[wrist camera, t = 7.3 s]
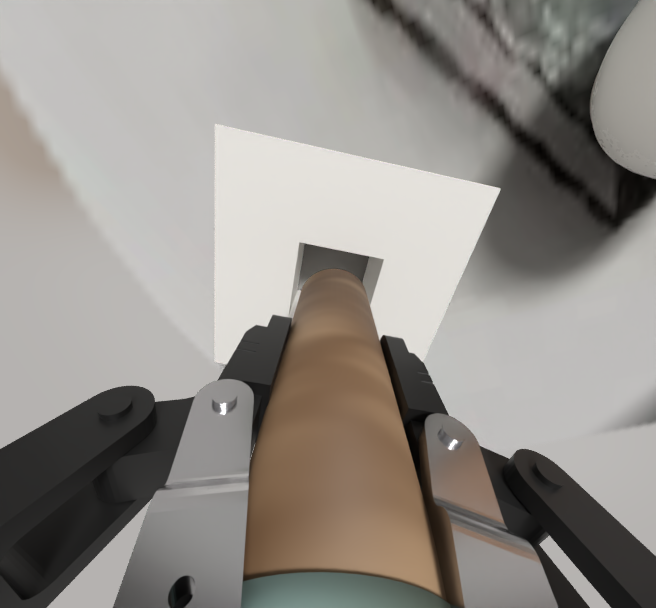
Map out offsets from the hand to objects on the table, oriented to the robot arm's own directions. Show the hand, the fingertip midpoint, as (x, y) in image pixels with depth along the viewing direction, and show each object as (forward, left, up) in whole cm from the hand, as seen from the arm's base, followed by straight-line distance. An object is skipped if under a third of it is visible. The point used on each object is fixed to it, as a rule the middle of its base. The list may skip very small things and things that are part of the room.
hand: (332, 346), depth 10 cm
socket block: (0, 0, -10) cm, 10 cm away
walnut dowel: (0, 0, -4) cm, 4 cm away
